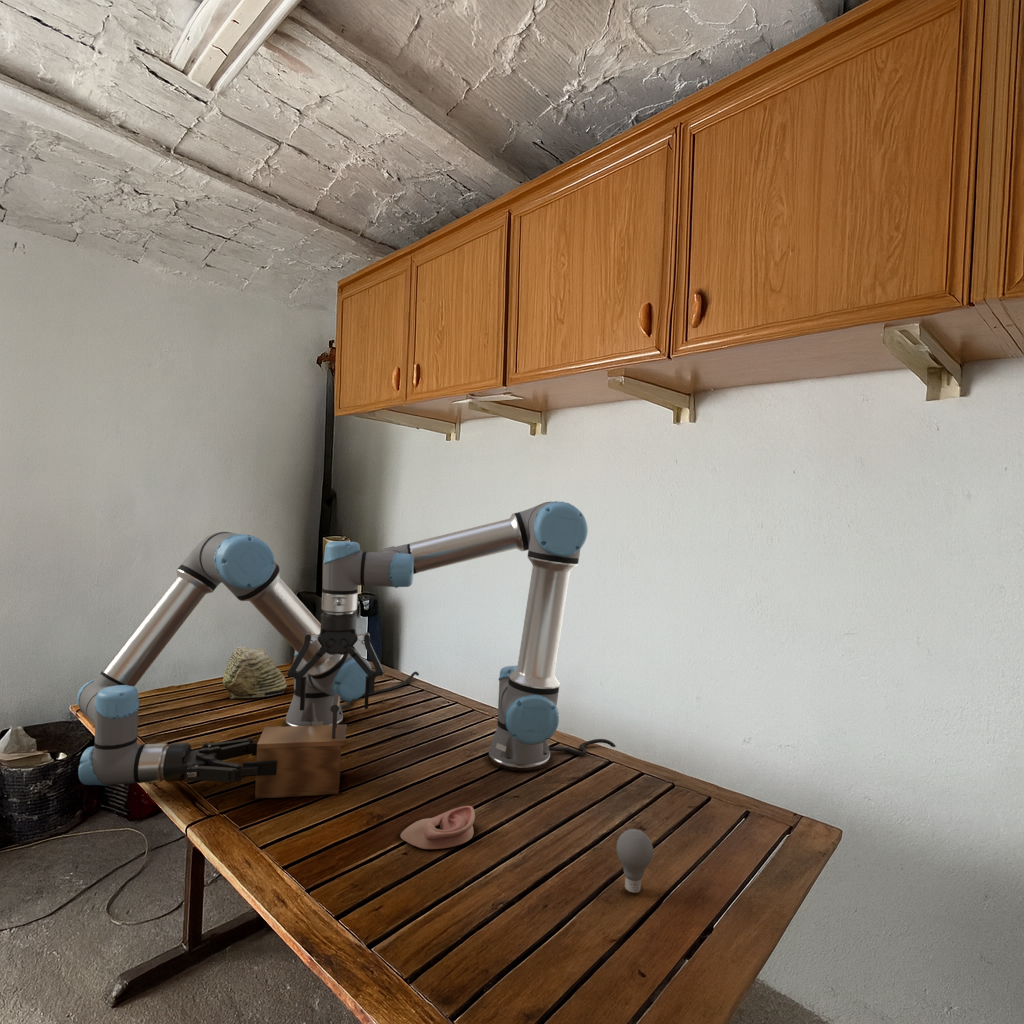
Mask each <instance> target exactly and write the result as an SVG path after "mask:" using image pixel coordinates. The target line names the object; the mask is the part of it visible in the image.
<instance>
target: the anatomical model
mask: <svg viewBox="0 0 1024 1024" xmlns="http://www.w3.org/2000/svg"><path fill="white" fill-rule="evenodd" d="M475 820H476V812H475V809H474V807H473V806H471V805H463V806H459V807H455V808H452V809H450V810H447V811H445V812H443V813H440V814H439V815H436V816H434V817H427V818H422V819H419V820H417V821H415V822H413V823H412V824H410V825H409V826H407V827H406V828H405V829H404V830H402V832H401V833H400V835H399V836H400V838H401V840H403V841H404V842H406V843H408V844H409V845H411V846H413V847H416V848H419V849H422V850H440V849H447V848H454V847H457V846H460V845H463V844H465V843H467V842H469V841H471V839H472V838H473V836H474V833H475V832H474V826H473V824H474V823H475Z"/></svg>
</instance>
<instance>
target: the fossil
mask: <svg viewBox="0 0 1024 1024" xmlns="http://www.w3.org/2000/svg"><path fill="white" fill-rule="evenodd" d="M222 676H223V677H222V685H223V687H224V688H225V690H226V691H228V693H229V698H230V699H250V698H264V697H271V696H275V695H281V694H284V693H285V691H286V689H287V687H288V686H287V680H286V678H285V676H284V674H283V673H282V672H281V669H279V668H278V667H277V665H276V663H275V662H274V660H273V659H272V658H271V657H270V656H269V655H268V654H267V653H266V652H265V650H264V649H263V648H260V647H258V648H251V647H247V646H246V647H245V646H238V647H237V648H236V649H235V650H233V651H232V653H231V656H230V657H229V659H228V660H227V663H226V666H225V668H224V671H223V675H222Z"/></svg>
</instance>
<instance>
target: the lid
mask: <svg viewBox="0 0 1024 1024" xmlns="http://www.w3.org/2000/svg"><path fill="white" fill-rule="evenodd" d="M339 705H340V706H341V701H340V696H339V695H338V694H335V695H334V696H333V697H332V702H331V708H330V710H331V712H333V722H332V725H314V726H286V725H285V726H284V725H283V726H265V727H263V730H262V733H261V734H260V737H259V739H258V741H257V742H258V743H257V749H270V748H295V747H320V746H341V747H342V746H346V739H347V729H348V727H347V725H348V724H345V723H344V724H340V725H337V712H338V710H339Z"/></svg>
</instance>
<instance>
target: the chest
mask: <svg viewBox="0 0 1024 1024" xmlns="http://www.w3.org/2000/svg"><path fill="white" fill-rule="evenodd" d="M256 761H277V768H276V775H264V776H255V789H254V798H255V800H256V799H257V800H258V799H274V798H275V799H276V798H289V797H310V796H325V795H326V796H327V795H339V791H340V781H341V765H342V746H320V747H295V748H270V749H257V756H256V760H255V762H256Z"/></svg>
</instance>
